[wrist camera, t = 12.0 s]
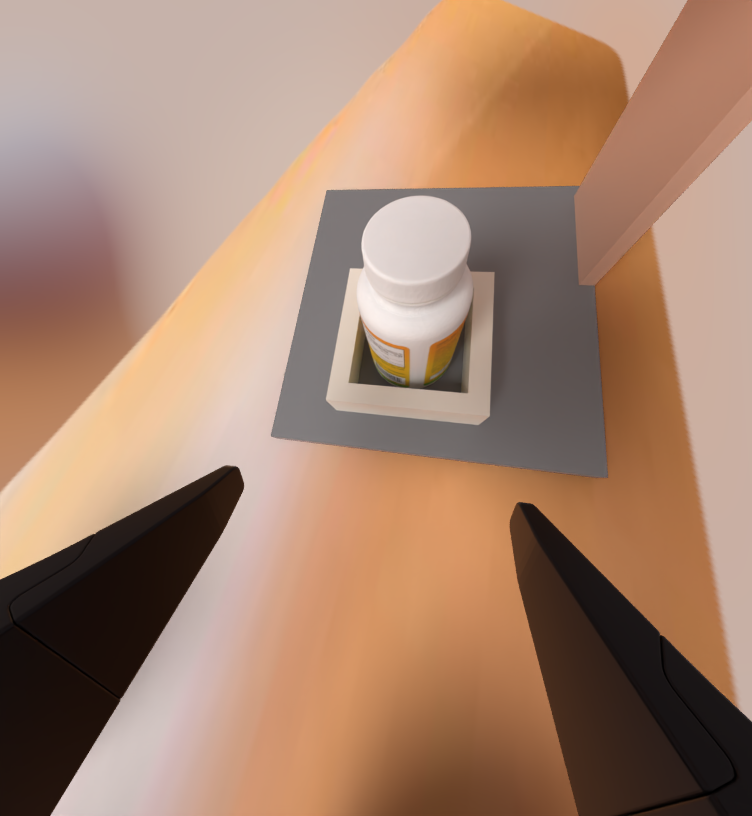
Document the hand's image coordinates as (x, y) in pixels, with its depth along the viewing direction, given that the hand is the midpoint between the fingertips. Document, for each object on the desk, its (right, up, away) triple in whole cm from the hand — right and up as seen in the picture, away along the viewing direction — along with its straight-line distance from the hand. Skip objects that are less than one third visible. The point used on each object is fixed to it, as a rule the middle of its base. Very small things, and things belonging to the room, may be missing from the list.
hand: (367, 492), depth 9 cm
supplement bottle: (+3, +6, +11) cm, 13 cm away
